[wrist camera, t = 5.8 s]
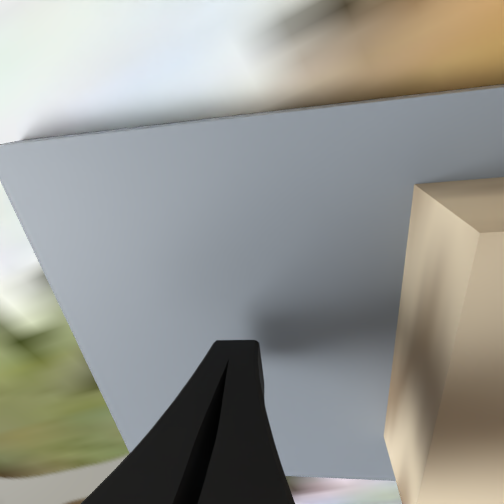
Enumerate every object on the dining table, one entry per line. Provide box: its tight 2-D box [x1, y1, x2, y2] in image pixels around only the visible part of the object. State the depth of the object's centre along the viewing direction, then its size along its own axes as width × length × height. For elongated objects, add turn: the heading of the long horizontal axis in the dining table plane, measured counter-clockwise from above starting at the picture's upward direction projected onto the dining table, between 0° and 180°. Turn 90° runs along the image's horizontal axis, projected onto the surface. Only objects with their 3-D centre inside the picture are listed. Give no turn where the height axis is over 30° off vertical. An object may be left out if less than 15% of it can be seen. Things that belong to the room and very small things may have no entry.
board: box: [0, 84, 504, 481], centre depth 10 cm, size 15×26×3 cm, turn 97°
